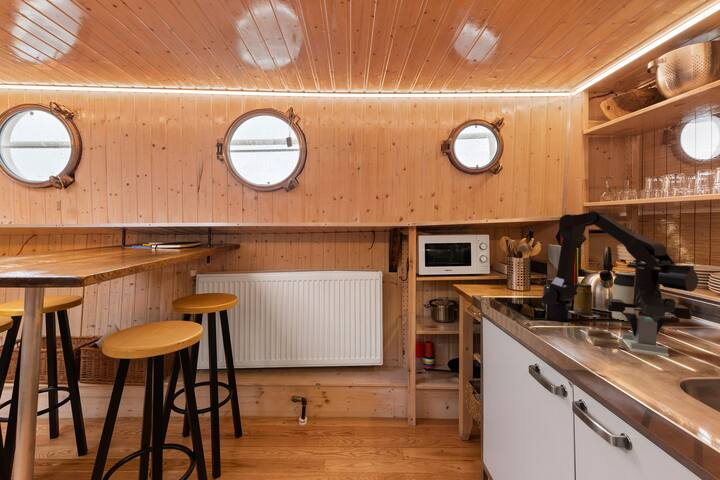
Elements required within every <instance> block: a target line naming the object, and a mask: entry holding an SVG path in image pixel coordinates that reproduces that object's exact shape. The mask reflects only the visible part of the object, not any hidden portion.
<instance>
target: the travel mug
mask: <svg viewBox="0 0 720 480" xmlns="http://www.w3.org/2000/svg"><path fill="white" fill-rule="evenodd" d="M614 273H615V278H614V279H613V285H612V286H613V289H612V299H619V300H622V301H623V302H624V303H631V304H633V298H634V289H633V287H634V282H635V271H627V270H626V271H625V270H616V271H614ZM634 313H635V314H636V315H637V316H640V315H639V314H640V311H638V310H634ZM611 317H612V318H613V319H614V320H617V319H619V320H618V321H621V320H624V321H623V322H627V321H628V320H627V318H626V316H625V315H623V314H622V313H621V312H614V311H611Z"/></svg>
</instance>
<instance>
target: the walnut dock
mask: <svg viewBox="0 0 720 480" xmlns="http://www.w3.org/2000/svg"><path fill="white" fill-rule="evenodd" d="M586 334H587V337H588V338H589V340H590V342H591V343H592V345H593V346H594V347H599V348H607V349H612V350H620V341H617V340H613V339H612V334H613V333H612V332H611V331H606V330H602V329H601V330H599V329H592V328H587V333H586Z"/></svg>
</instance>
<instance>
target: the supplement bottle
mask: <svg viewBox="0 0 720 480" xmlns="http://www.w3.org/2000/svg"><path fill="white" fill-rule="evenodd" d="M554 279H555V278H546V281H545V283H546V284H544V285H543V287H542V297H543V296H544V295H545V294H546V293H548V291H549V288H550V285H551V283H552V282H553V280H554ZM541 302H542V301H541ZM541 305H542V306H543V307H545V308H546V304H544V303H543V302H542V303H541Z"/></svg>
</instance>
